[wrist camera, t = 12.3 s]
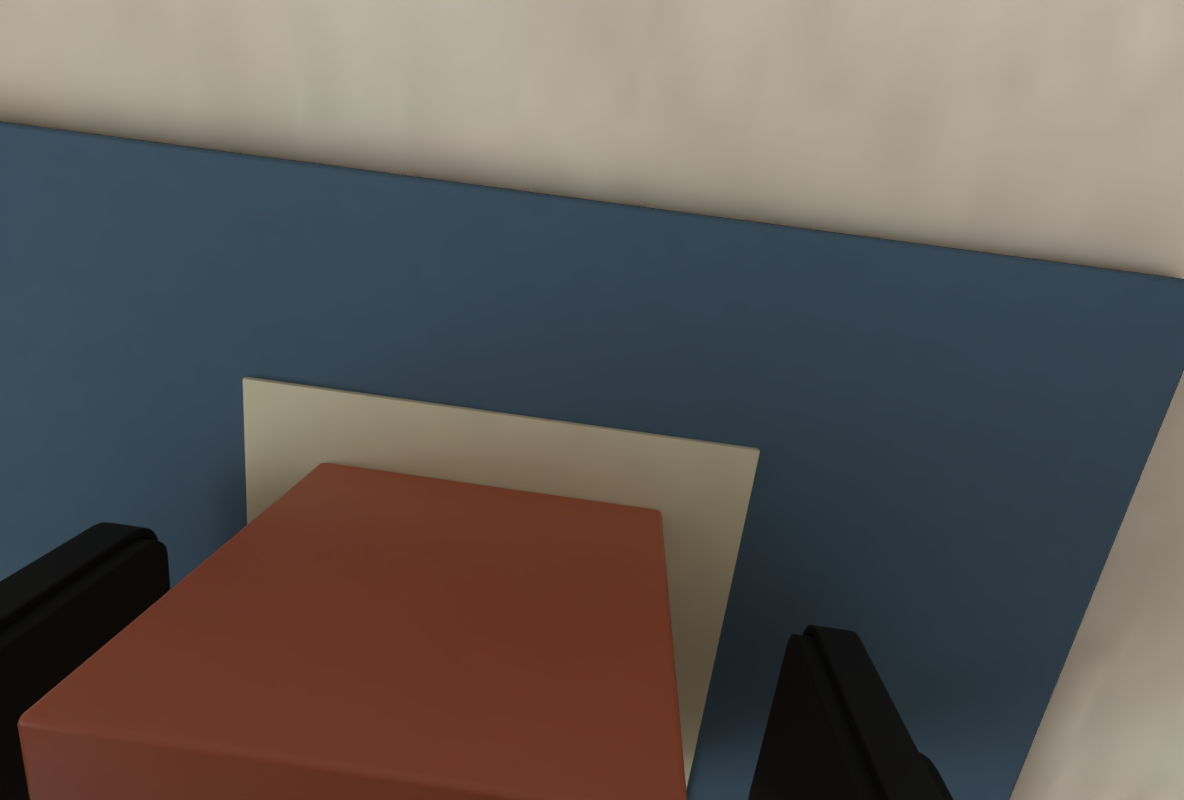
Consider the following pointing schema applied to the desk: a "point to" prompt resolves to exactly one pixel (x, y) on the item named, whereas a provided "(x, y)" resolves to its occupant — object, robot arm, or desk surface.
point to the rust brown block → (386, 658)
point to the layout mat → (598, 406)
